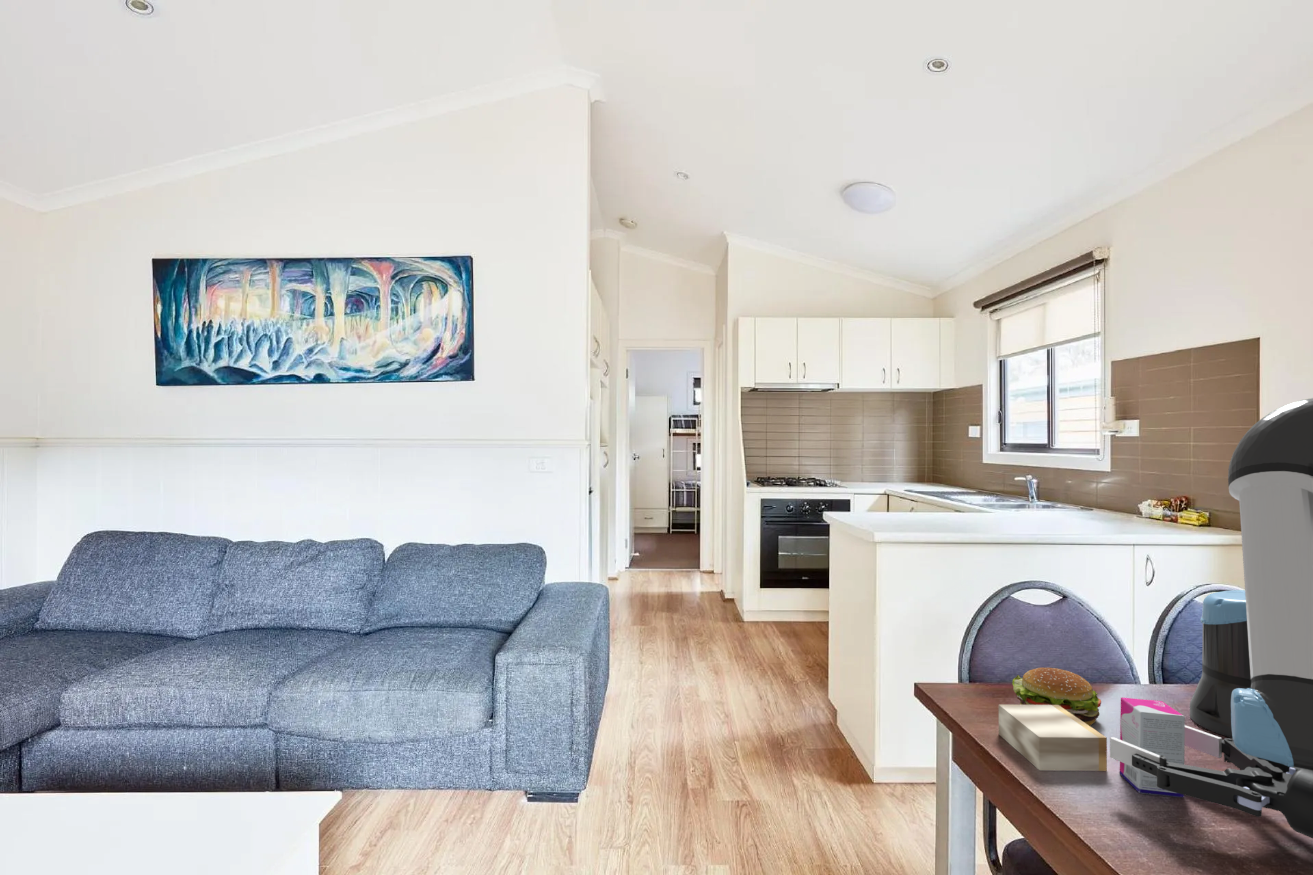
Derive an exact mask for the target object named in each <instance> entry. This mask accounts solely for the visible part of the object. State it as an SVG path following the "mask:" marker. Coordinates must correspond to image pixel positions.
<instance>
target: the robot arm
mask: <svg viewBox="0 0 1313 875" xmlns="http://www.w3.org/2000/svg"><path fill="white" fill-rule="evenodd" d="M1227 480H1228V482H1227V483H1228V492H1229V493H1228V494H1229V495H1230V496H1231V497H1232V498H1233V499H1235V500H1237V501H1238V502H1239V503H1238V504H1239V514H1240V515H1239V517H1240V531H1241V547H1242V549H1241V550H1242V561H1243V563H1242V564H1243V577H1244V579H1243V580H1244V589H1241V590H1240V589H1237V590H1235V589H1234V590H1224V591H1217V592H1213V593H1210V594H1208V595H1206V596H1205V597H1204V599H1203V601H1202V610H1201V612H1202V613H1201V617H1200V619H1199V620H1200V623H1201V624H1202V642H1201V643H1202V650H1201V651H1202V652H1201V653H1202V655H1201V656H1202V657H1201V658H1202V659H1201V664H1202V670H1201V671H1202V672H1201V677H1200V679H1199V681H1198V684H1197V686H1196V689H1194V690H1195V691H1194V693H1193V694H1192V697H1191V700H1190V701H1189V718H1190V719H1191V720H1192V721H1193V722H1194V723H1196V725H1198V726H1200V727H1202V728H1204V729H1206V730H1208V731H1211V732H1213V733H1216V734H1219V735H1221V736H1225V737H1226V738H1224V739H1223V738H1222V737H1221V736H1218V735H1214V734H1212V733H1209V732H1205V731H1203V730H1200V729H1197V728H1194V727H1192V726H1189V725H1186V724H1185V745H1184V747H1186V748H1187V747H1188V748H1191V749H1193V750H1196V751H1199V752H1200V753H1201V752H1202V753H1205V754H1207V755H1209V756H1212V757H1215V758H1217V759H1220V758H1224V759H1223V760H1224V762H1223V763H1231V764H1233V765H1234V766H1235V767H1236V768H1238V769H1236V768H1230V767H1229V768H1226V769H1224V770H1219V769H1212V768H1206V767H1202V766H1201V767H1199V766H1194V765H1190V764H1185V763H1184V764H1178V763H1172V762H1167V759H1166V758H1165V756H1164V755H1157V754H1155V753H1152V752H1150V751H1147V750H1145V749H1142V748H1140V747H1137V746H1135V745H1132V744H1130V743H1127V742H1125V741H1122V740H1120V738H1117V737H1115V736H1112V737H1109V758H1110V759H1113V760H1116V761H1117V762H1119V763H1120V762H1122V763H1125V764H1127V765H1129V766H1132V767H1134V768H1137V769H1139V770H1141V771H1144V772H1146V773H1148V774H1151V775H1153V776H1155V777H1157V787H1159V788H1161V789H1164V790H1168V791H1171V792H1175V793H1179V794H1183V795H1184V796H1187V797H1191V798H1193V799H1194V798H1195V799H1198V800H1202V801H1206V802H1209V803H1214V804H1217V805H1221V806H1224V807H1228V808H1233V809H1236V810H1238V811H1240V812H1242V813H1245V814H1248V815H1251V816H1253V817H1258V818H1259V817H1260V818H1261V817H1262V816H1263V808H1264V809H1269V810H1270V809H1271V810H1274V811H1277V812H1280V813H1281V814H1282V815H1283V816H1284V818H1285V819H1286V822H1287V823H1288V825H1289V827H1290V828H1291V830H1294V831H1295V832H1297V833H1299V834H1301V835H1303V836H1306V837H1309V838H1311V839H1313V397H1311V398H1306V399H1301V400H1297V401H1294V402H1291V403H1288V404H1285V405H1282V406H1280V407H1278V408H1276V409H1274V410H1271V411H1270V412H1269V413H1268V414H1266V415H1265V416H1264V417H1262V418H1261V419H1259V420H1258V421H1257V422H1256V423H1255V424H1253V425H1252V426H1251V427H1250V428H1249V430H1247V431H1246V433H1245V434H1244V435H1243V437H1242V438H1241V439H1240V440H1239V442H1238V443H1237V445H1236V447H1235V450H1234V451H1233V453H1232V456H1231V459H1230V461H1229V466H1228V475H1227Z"/></svg>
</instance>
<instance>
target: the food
mask: <svg viewBox="0 0 1313 875" xmlns="http://www.w3.org/2000/svg"><path fill="white" fill-rule="evenodd" d="M1011 682H1012V683H1011V684H1012V686H1013V692H1014V694H1016V697H1017V699H1018V700H1019V705H1059V706H1061V707H1062V708H1064V709H1065V710H1067V711H1068V712H1070V713H1071V714H1072V715H1074V716H1075V717H1077V718H1078V719H1080V720H1081V721H1083V722H1084V723H1086V724H1087V725H1089V726H1090V727H1092V725H1093V724H1095V723H1096V720H1097V719H1098V718H1099V716H1100V711H1099V710H1100V709H1099V708H1100V707H1101V704H1102V700H1101V699H1100V698H1099V697H1098V693H1097V692H1096V691H1095V690H1094V689H1093V686H1092V685H1091V684H1090V683H1089V681H1087V680H1086V679H1085V678H1084V677H1082V676H1080V675H1079V674H1077V673H1074V672H1072V671H1068V670H1066V669H1060V668H1057V667H1037V668H1033V669H1029V670H1027V671H1026V672H1025V673H1024V674H1023V676H1022V677H1020V675H1019V674H1017V675H1016V676H1015V677H1014V678H1013V679H1012V681H1011Z"/></svg>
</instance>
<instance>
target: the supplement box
mask: <svg viewBox="0 0 1313 875" xmlns="http://www.w3.org/2000/svg"><path fill="white" fill-rule="evenodd" d="M1185 719H1186V716H1185V715H1183V714H1182V713H1180V712H1179V711H1178V710H1176V709H1174V708H1173V707H1171V706H1170V705H1168V704H1167V703H1166V702H1164V701H1162V700H1156V699H1155V700H1154V699H1142V698H1141V699H1140V698H1131V697H1120V719H1119V721H1120V722H1119V724H1120V725H1119V726H1120V731H1119V732H1120V735H1119V737H1120V738H1119V739H1120V740H1122V741H1125V742H1127V743H1130V744H1132V745H1135V746H1137V747H1140V748H1142V749H1145V750H1147V751H1150V752H1152V753H1155V754H1157V755H1164V756H1165V758H1166V759H1167V762H1172V763H1178V764H1184V765H1185V725H1186V724H1185V722H1186V720H1185ZM1119 775H1120V776H1122V778H1123V779H1124V780H1125V781H1126V782H1127V783H1128V784H1129V785H1130V786H1132V788H1133V789H1134V790H1136V791H1137V793H1139V794H1143V795H1151V796H1152V795H1154V796H1163V797H1174V798H1185V795H1183V794H1179V793H1175V792H1171V791H1168V790H1164V789H1161V788H1159V787H1157V777H1155V776H1153V775H1151V774H1148V773H1146V772H1144V771H1141V770H1139V769H1137V768H1134V767H1132V766H1129V765H1127V764H1125V763H1122V762H1120V761H1119Z"/></svg>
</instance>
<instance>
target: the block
mask: <svg viewBox="0 0 1313 875" xmlns="http://www.w3.org/2000/svg"><path fill="white" fill-rule="evenodd" d="M998 735H999V736H1000V737H1001V738H1002V739H1003V740H1005V741H1006V743H1008V744H1009V745H1010V746H1011V747H1012V748H1013V749H1015V750H1016V751H1017V752H1018V753H1019V754H1020V755H1021V756H1022V757H1024V758H1025V759H1026V760H1027V761H1028V762H1029V763H1030V764H1031V765H1033V766H1034V768H1036V769H1037V770H1038V771H1054V772H1055V771H1057V772H1058V771H1060V772H1062V771H1065V772H1067V771H1068V772H1069V771H1070V772H1071V771H1074V772H1107V771H1108V764H1107V763H1108V756H1107V755H1108V746H1107V745H1108V739H1107V737H1106V736H1105V735H1104V734H1102V733H1100V732H1099V731H1098V730H1096V729H1095V728H1093V727H1092V726H1089V725H1087V724H1086V723H1084V722H1083V721H1081V720H1080V719H1078V718H1077V717H1075V716H1074V715H1072V714H1071V713H1070V712H1068V711H1067V710H1065V709H1064V708H1062V707H1061V706H1059V705H1020V704H998Z"/></svg>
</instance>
